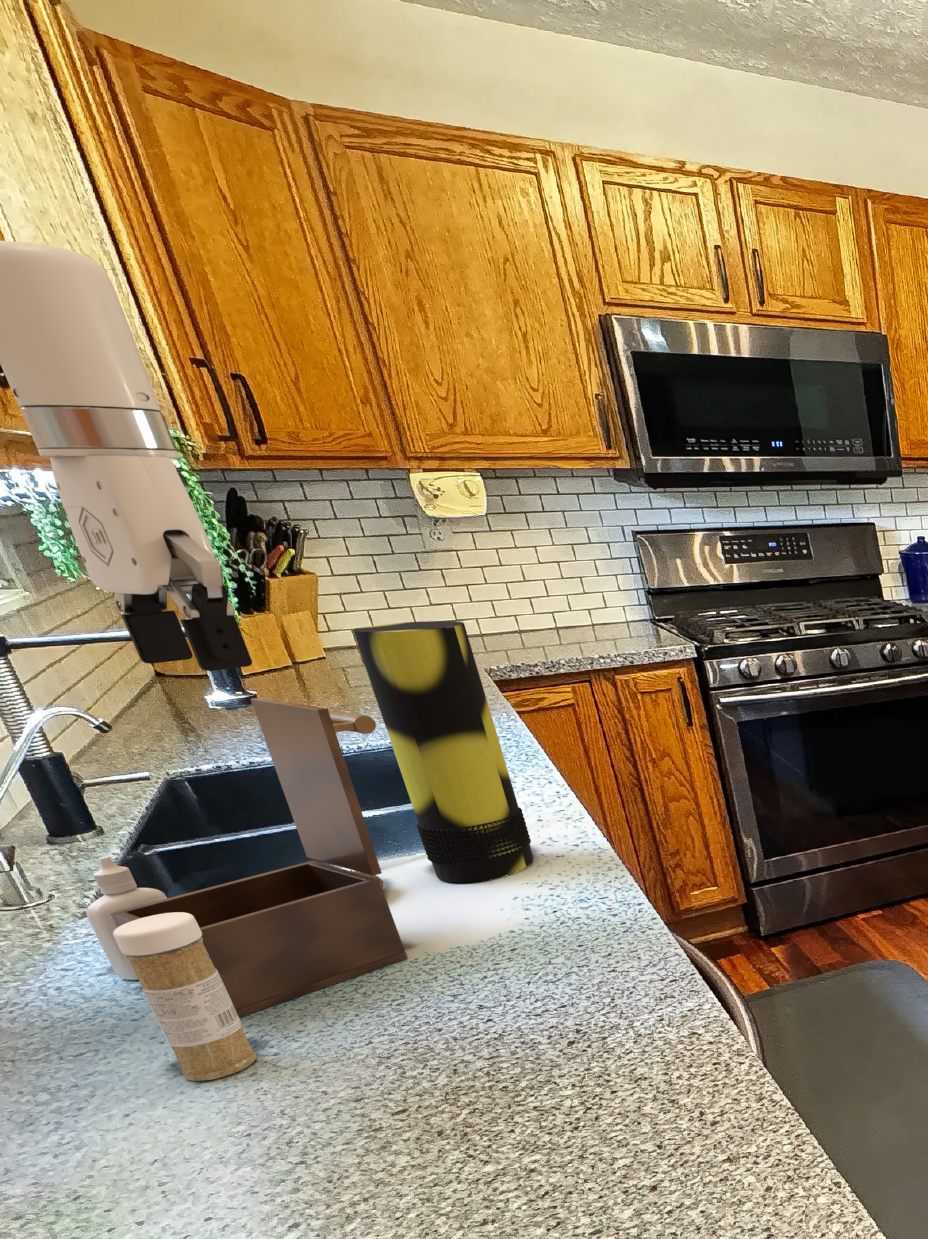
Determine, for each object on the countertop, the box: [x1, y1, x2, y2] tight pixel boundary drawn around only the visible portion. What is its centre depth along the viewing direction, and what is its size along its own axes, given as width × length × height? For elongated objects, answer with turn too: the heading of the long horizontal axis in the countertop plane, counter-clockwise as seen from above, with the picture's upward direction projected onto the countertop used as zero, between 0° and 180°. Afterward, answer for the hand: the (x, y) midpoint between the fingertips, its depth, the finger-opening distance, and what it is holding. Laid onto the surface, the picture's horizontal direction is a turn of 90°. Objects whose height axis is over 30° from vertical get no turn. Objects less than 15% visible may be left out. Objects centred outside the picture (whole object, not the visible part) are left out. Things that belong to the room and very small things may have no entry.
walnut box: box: [110, 860, 409, 1019], centre depth 96 cm, size 16×13×9 cm
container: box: [352, 620, 535, 884], centre depth 120 cm, size 11×11×30 cm
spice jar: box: [113, 912, 257, 1082], centre depth 80 cm, size 5×5×14 cm
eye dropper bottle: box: [85, 855, 168, 981], centre depth 97 cm, size 4×6×12 cm
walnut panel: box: [250, 697, 382, 876], centre depth 100 cm, size 16×13×6 cm
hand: (197, 664), depth 82 cm, fingers open, 9 cm apart
